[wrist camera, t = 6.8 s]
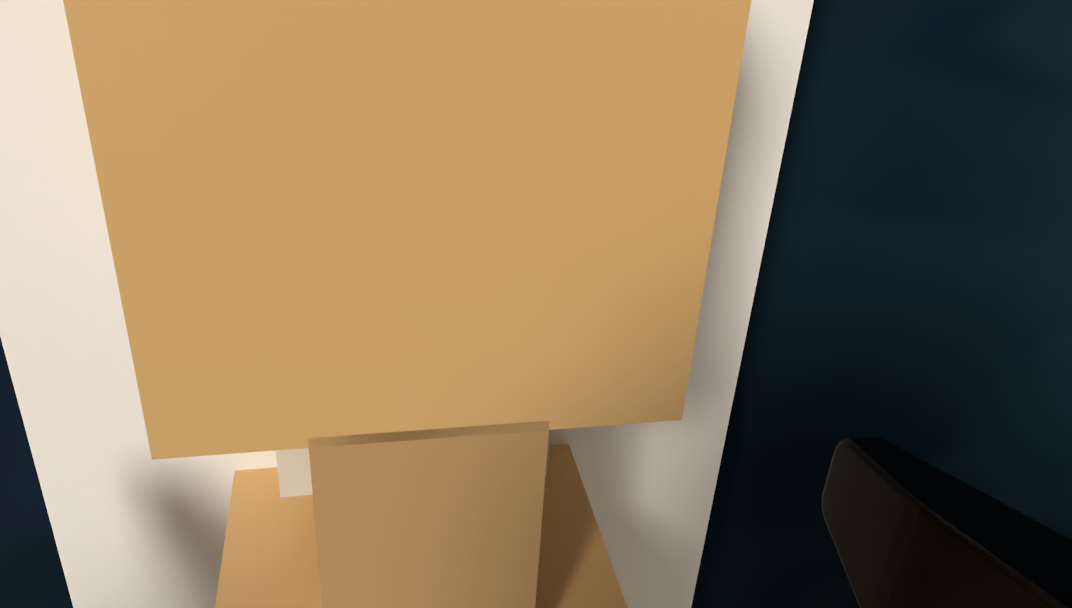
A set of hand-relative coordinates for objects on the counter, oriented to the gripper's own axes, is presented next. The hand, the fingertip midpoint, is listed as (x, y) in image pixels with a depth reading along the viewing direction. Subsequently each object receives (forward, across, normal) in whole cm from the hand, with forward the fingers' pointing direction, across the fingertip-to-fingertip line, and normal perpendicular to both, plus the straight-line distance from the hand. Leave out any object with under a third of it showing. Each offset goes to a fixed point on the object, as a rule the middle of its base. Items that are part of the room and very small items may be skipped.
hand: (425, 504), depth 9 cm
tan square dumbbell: (+3, 0, 0) cm, 3 cm away
